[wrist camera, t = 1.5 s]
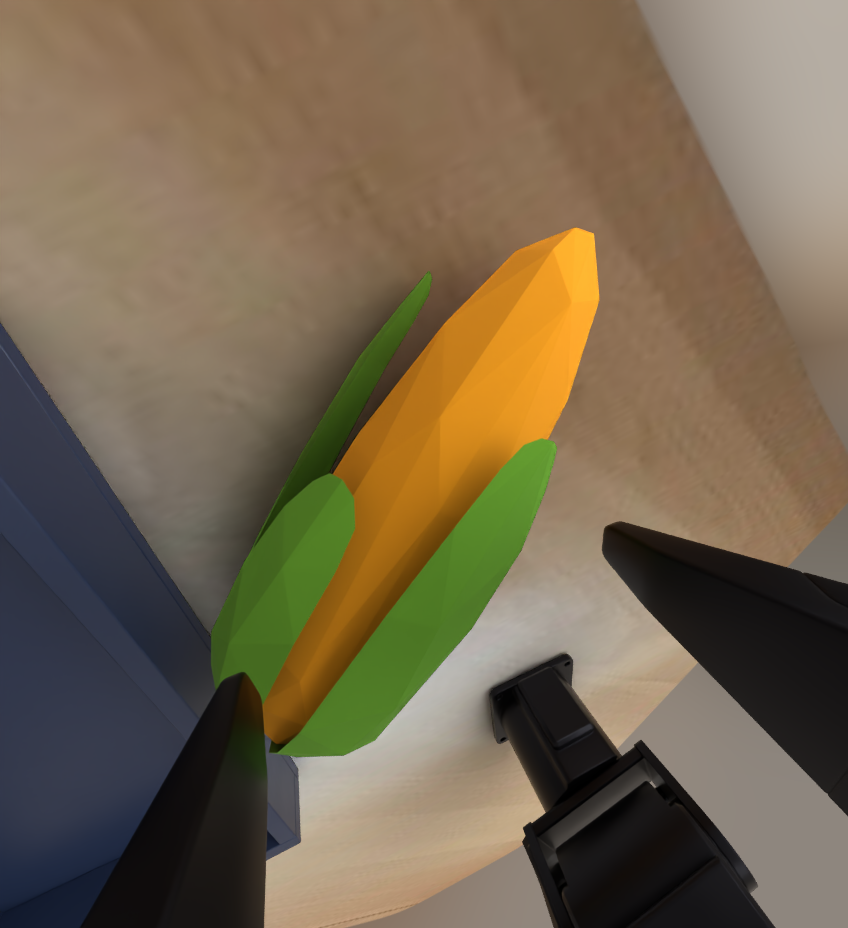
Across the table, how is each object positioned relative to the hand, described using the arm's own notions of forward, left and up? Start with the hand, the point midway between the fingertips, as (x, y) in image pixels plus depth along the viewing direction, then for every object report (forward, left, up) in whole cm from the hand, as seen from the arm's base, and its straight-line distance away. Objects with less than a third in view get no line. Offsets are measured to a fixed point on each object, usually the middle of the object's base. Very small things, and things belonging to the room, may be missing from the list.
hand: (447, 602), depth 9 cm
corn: (0, 0, -8) cm, 8 cm away
